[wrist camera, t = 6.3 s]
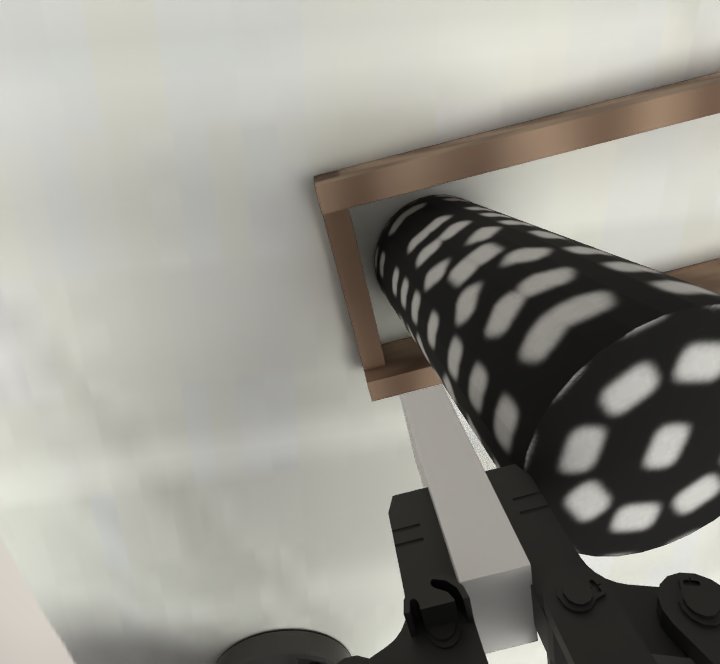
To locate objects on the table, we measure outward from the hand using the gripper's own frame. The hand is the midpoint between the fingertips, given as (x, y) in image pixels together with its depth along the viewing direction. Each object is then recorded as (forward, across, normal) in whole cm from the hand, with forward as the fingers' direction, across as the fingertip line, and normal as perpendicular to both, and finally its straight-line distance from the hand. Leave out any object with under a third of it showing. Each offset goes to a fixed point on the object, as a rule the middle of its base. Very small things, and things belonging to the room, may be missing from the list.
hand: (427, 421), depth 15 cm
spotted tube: (+17, +4, 0) cm, 17 cm away
